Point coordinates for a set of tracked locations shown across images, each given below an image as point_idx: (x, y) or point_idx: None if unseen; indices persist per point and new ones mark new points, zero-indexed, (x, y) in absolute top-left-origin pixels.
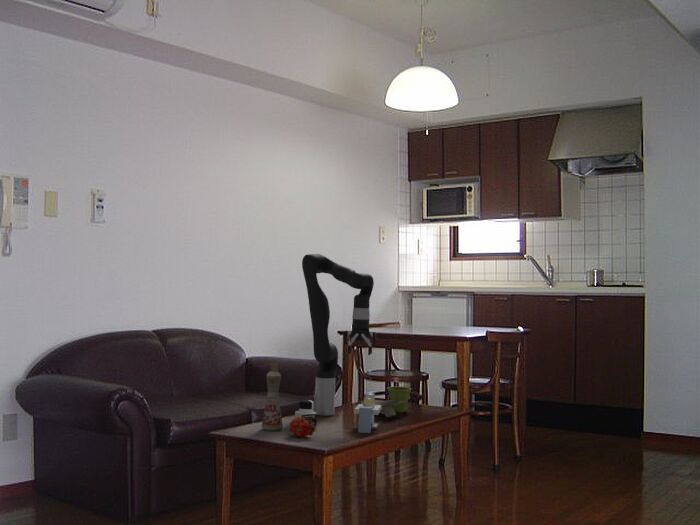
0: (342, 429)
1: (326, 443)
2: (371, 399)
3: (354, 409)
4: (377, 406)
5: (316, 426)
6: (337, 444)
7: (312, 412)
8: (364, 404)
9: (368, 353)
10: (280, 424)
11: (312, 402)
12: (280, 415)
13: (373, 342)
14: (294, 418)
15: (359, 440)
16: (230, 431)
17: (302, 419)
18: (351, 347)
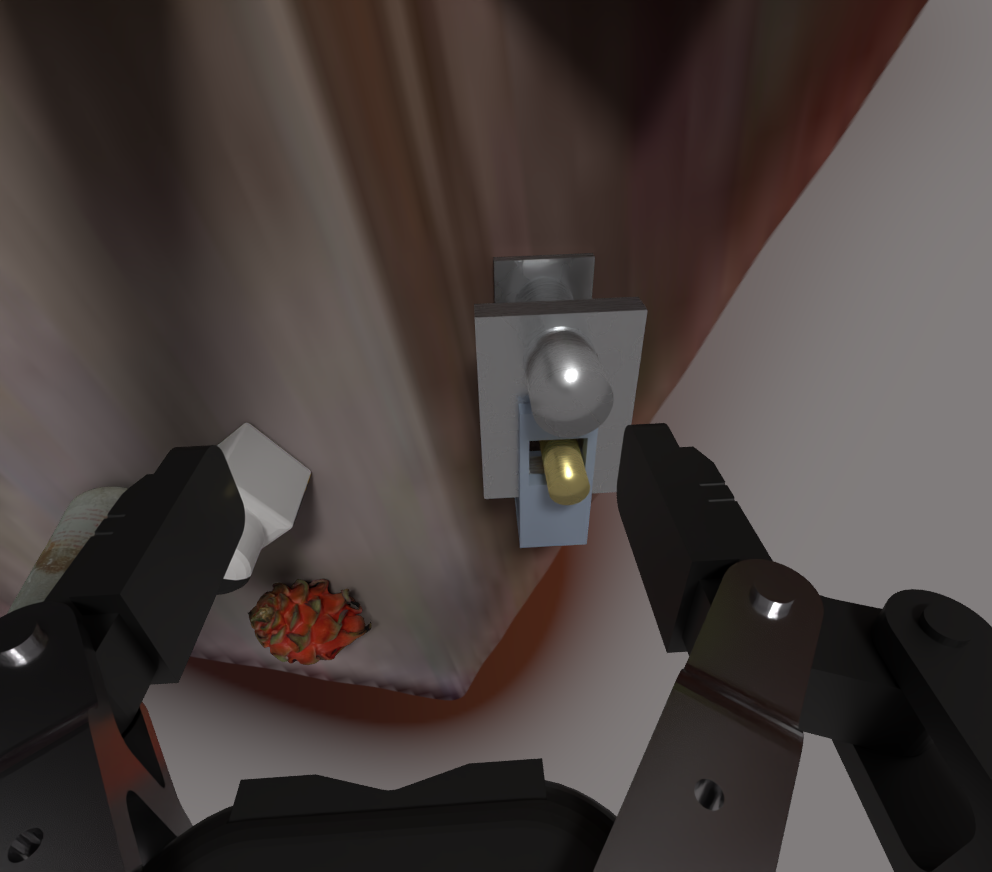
0: (421, 421)
1: (437, 638)
2: (589, 486)
3: (484, 497)
4: (616, 377)
5: (307, 482)
6: (475, 639)
7: (267, 532)
8: (535, 440)
9: (627, 526)
10: None
11: (248, 572)
12: None
13: (870, 786)
14: (260, 639)
15: (537, 580)
16: (13, 588)
17: (312, 663)
18: (158, 578)
